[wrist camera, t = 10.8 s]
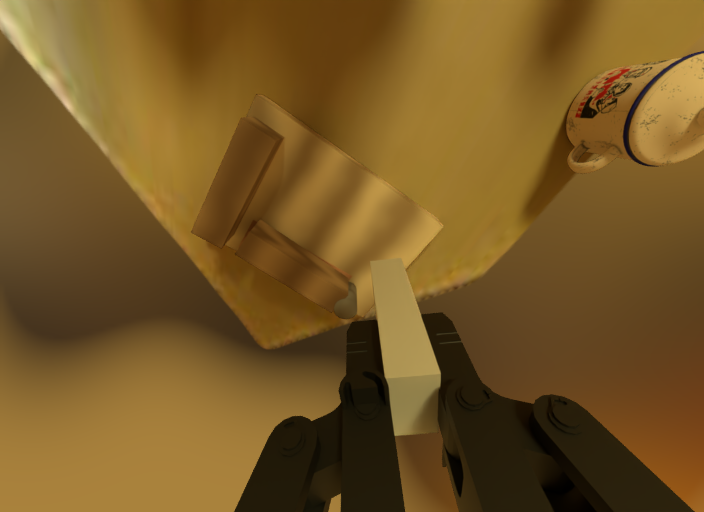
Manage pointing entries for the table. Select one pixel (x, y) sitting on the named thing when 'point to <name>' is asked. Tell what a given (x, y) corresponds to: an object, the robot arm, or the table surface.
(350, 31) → the table surface
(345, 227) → the wooden board with block
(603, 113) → the teacup with lid
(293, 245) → the hinged leg
